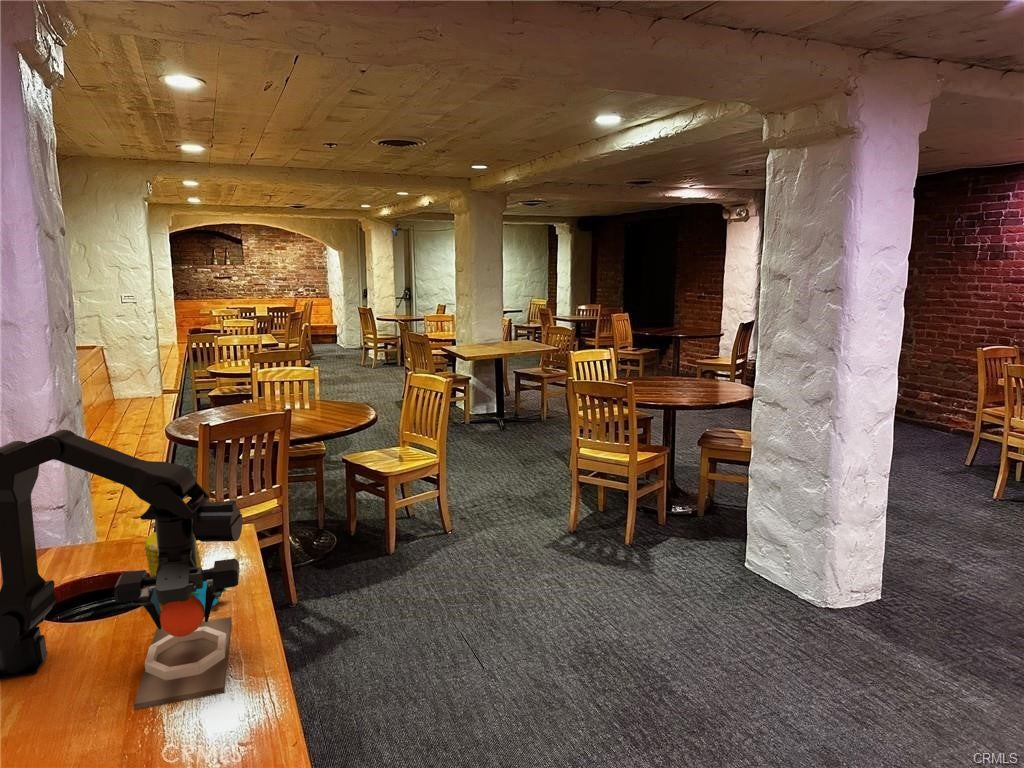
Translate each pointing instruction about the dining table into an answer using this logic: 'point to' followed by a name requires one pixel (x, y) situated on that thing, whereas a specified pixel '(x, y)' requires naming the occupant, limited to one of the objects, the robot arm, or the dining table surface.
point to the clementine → (182, 616)
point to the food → (153, 554)
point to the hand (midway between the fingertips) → (183, 624)
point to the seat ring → (186, 669)
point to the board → (180, 654)
